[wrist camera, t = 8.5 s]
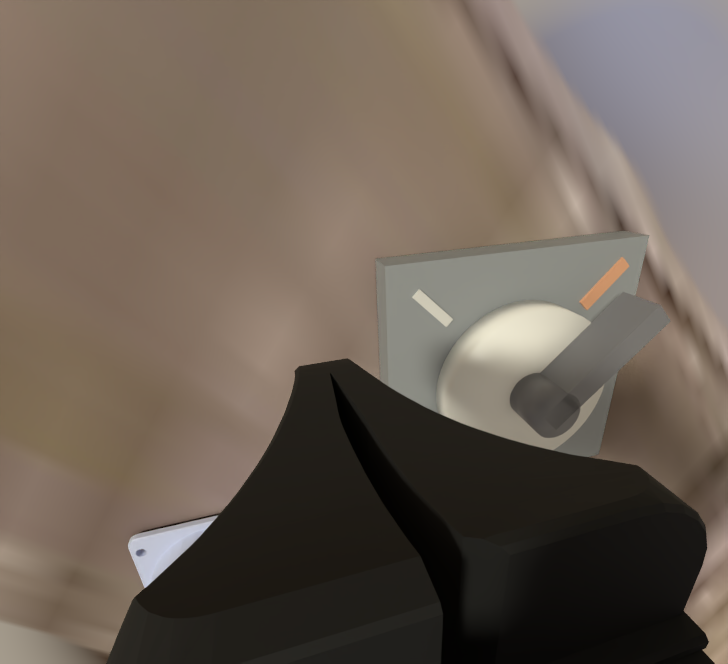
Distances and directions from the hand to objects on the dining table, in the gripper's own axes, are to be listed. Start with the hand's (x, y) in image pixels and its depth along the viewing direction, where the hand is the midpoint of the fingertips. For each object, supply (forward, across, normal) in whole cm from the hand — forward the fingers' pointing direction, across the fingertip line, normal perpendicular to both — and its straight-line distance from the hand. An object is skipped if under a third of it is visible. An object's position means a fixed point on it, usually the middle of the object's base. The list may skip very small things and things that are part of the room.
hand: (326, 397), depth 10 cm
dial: (+8, -11, +6) cm, 15 cm away
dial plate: (+9, -11, +6) cm, 16 cm away
